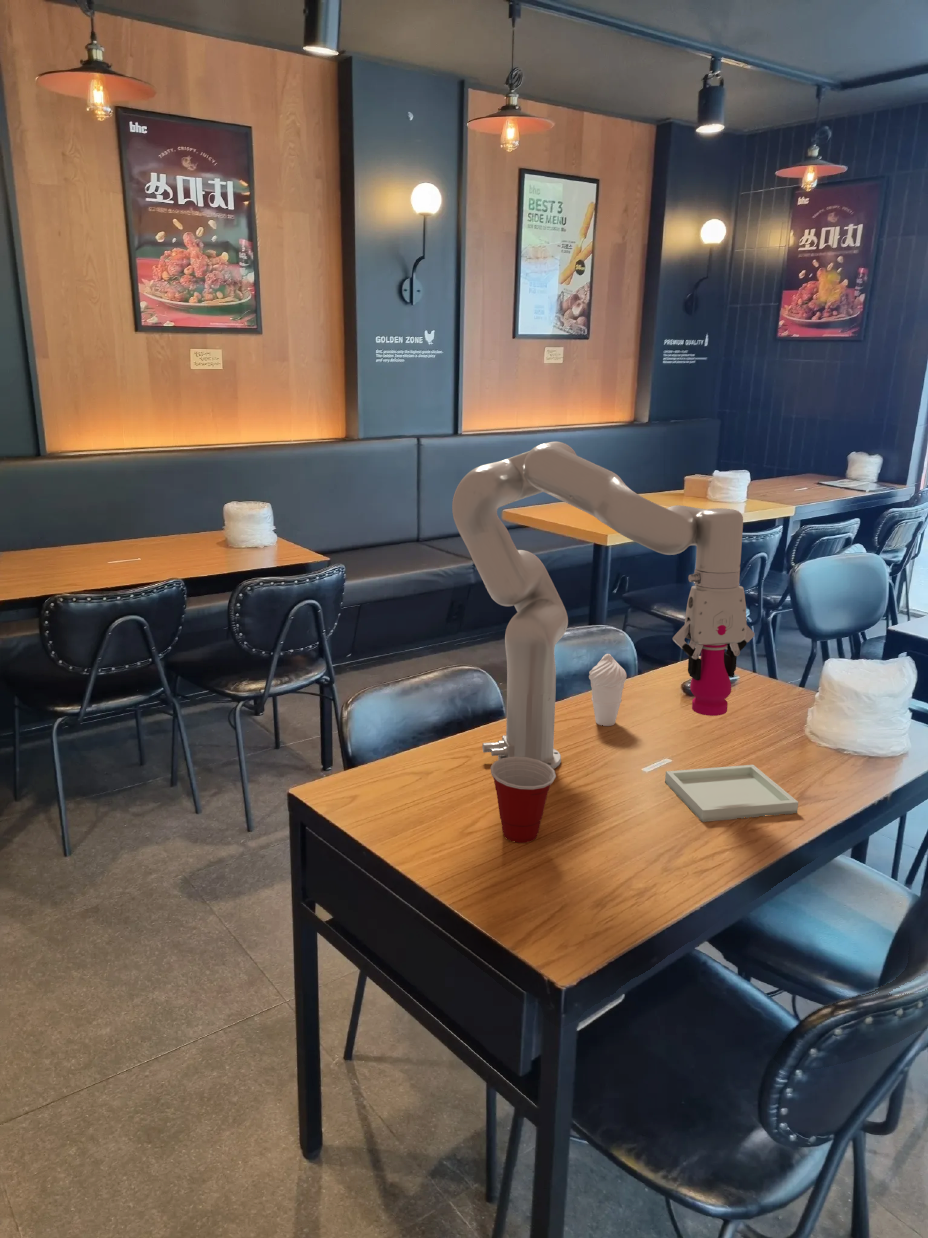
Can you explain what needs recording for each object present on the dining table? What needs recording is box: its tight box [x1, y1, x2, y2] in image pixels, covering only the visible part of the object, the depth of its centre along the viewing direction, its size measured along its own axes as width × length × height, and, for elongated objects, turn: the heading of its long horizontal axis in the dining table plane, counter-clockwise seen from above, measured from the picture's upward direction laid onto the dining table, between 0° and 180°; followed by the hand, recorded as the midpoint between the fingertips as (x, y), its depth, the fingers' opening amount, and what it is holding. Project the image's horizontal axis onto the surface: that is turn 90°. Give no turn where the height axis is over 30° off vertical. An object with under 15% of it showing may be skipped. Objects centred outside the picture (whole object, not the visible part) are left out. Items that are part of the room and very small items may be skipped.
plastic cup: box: [490, 757, 557, 844], centre depth 145 cm, size 11×11×12 cm
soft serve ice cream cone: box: [588, 653, 627, 727], centre depth 194 cm, size 8×8×16 cm
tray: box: [664, 764, 799, 823], centre depth 160 cm, size 18×16×2 cm
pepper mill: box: [689, 625, 732, 717], centre depth 158 cm, size 7×7×20 cm
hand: (711, 675), depth 159 cm, fingers closed on pepper mill, 5 cm apart
